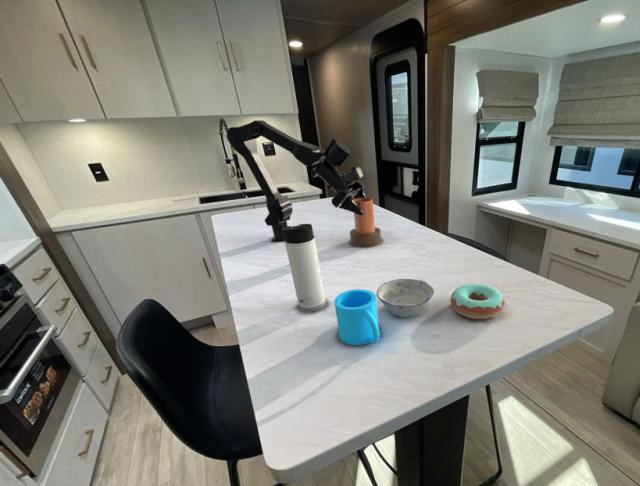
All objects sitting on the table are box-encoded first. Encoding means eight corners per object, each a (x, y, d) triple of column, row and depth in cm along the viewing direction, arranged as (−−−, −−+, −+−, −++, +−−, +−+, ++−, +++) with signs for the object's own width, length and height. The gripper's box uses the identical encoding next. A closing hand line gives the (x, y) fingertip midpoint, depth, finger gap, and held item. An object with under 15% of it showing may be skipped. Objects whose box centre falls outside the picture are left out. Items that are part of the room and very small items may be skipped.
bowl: (391, 291, 82) (390, 274, 79) (439, 299, 77) (440, 281, 75) (368, 317, 71) (366, 298, 69) (423, 328, 67) (423, 308, 65)
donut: (447, 296, 79) (448, 281, 77) (496, 295, 78) (498, 280, 76) (453, 323, 68) (454, 307, 66) (509, 322, 68) (512, 306, 66)
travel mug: (302, 315, 73) (284, 230, 63) (296, 303, 78) (278, 222, 68) (329, 308, 76) (315, 225, 66) (321, 296, 81) (307, 218, 71)
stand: (351, 238, 120) (350, 227, 118) (380, 236, 121) (379, 225, 119) (350, 248, 111) (349, 237, 109) (382, 245, 112) (381, 234, 110)
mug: (333, 331, 67) (327, 297, 63) (366, 318, 71) (363, 285, 67) (360, 360, 59) (355, 324, 55) (396, 344, 63) (395, 308, 59)
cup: (352, 233, 112) (349, 201, 107) (360, 227, 118) (357, 197, 113) (370, 234, 110) (367, 202, 105) (377, 228, 116) (375, 197, 111)
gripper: (335, 162, 95) (373, 200, 98) (356, 155, 111) (388, 188, 114) (315, 189, 101) (352, 224, 104) (338, 179, 117) (369, 210, 120)
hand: (366, 210), depth 110 cm, fingers open, 9 cm apart
